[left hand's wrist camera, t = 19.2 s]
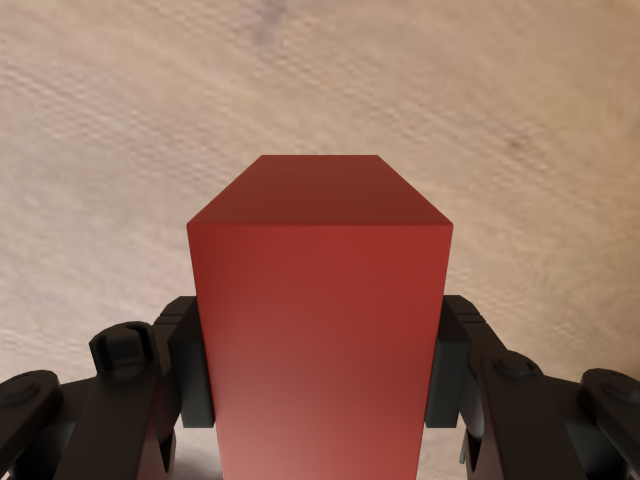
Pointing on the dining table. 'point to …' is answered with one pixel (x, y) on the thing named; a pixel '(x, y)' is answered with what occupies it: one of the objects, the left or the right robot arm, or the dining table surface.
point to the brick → (319, 317)
